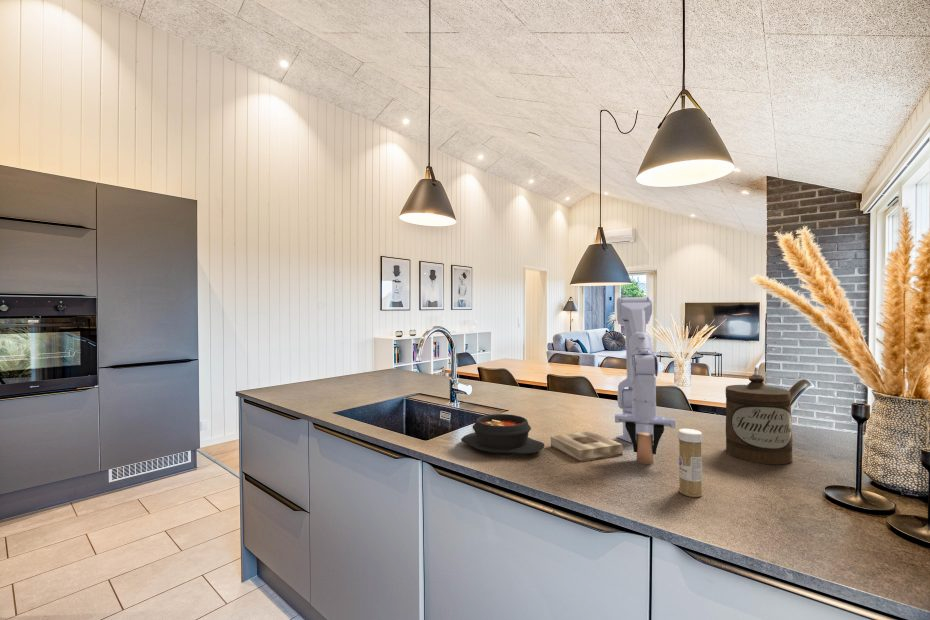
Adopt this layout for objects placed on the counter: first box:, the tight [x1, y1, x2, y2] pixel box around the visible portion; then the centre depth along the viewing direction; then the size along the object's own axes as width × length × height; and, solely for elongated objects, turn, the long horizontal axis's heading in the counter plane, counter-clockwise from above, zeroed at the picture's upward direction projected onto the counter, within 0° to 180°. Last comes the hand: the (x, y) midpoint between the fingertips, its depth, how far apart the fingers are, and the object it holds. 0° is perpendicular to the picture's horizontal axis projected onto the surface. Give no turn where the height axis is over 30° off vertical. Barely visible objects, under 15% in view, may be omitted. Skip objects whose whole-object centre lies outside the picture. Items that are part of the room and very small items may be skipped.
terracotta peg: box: [636, 433, 654, 465], centre depth 109 cm, size 4×4×7 cm
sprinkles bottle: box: [677, 428, 703, 498], centre depth 90 cm, size 5×5×14 cm
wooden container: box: [725, 373, 793, 465], centre depth 114 cm, size 15×15×22 cm
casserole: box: [460, 413, 545, 455], centre depth 121 cm, size 25×19×8 cm
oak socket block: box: [550, 431, 624, 463], centre depth 118 cm, size 14×14×3 cm
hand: (644, 452), depth 109 cm, fingers closed on terracotta peg, 4 cm apart
